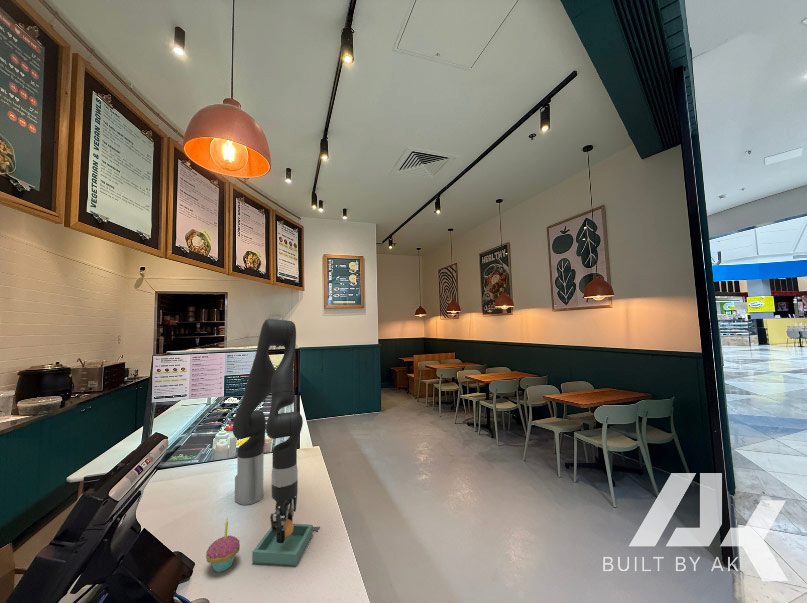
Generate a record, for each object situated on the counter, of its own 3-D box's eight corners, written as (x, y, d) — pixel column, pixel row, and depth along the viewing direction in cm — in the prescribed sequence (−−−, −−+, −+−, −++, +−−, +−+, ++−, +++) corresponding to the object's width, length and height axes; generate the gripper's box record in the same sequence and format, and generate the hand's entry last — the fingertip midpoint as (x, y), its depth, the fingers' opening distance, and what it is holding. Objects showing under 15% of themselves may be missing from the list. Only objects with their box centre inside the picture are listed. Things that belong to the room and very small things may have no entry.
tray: (252, 564, 94) (252, 551, 94) (274, 533, 107) (274, 522, 107) (296, 567, 93) (296, 554, 93) (312, 535, 106) (312, 524, 106)
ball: (273, 542, 98) (273, 525, 98) (280, 531, 103) (280, 515, 103) (289, 543, 97) (289, 525, 97) (296, 532, 102) (296, 515, 102)
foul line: (274, 529, 109) (274, 528, 109) (276, 525, 111) (276, 524, 111) (318, 531, 108) (317, 530, 108) (320, 527, 110) (320, 526, 110)
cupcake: (215, 555, 97) (215, 514, 98) (244, 553, 98) (245, 512, 99) (199, 579, 89) (200, 533, 89) (232, 576, 90) (232, 531, 90)
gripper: (283, 467, 108) (283, 520, 107) (260, 491, 94) (260, 552, 93) (305, 468, 107) (305, 521, 107) (286, 492, 93) (286, 553, 92)
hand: (284, 535), depth 100 cm, fingers closed on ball, 5 cm apart
